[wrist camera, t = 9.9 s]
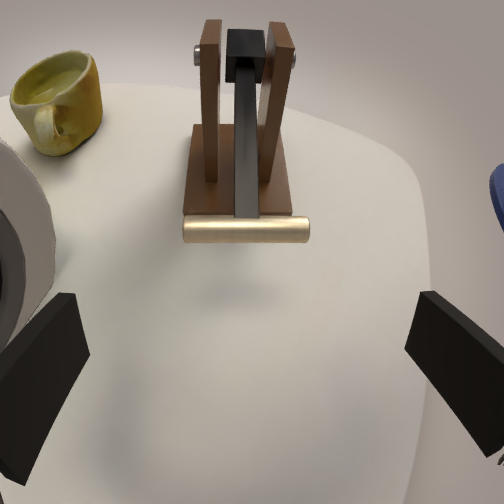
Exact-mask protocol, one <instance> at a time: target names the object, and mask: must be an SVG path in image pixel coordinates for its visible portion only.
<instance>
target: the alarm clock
mask: <svg viewBox="0 0 504 504" xmlns="http://www.w3.org/2000/svg"><path fill="white" fill-rule="evenodd" d="M55 248H56V237H55V232H54V227H53V221H52V215H51V209H50V205H49V203H48V201H47V199H46V197H45V195H44V192H43V190H42V188H41V186H40V183H39V181H38V179H37V176H36V175H35V174H34V172H33V171H32V170H31V169H30V168H29V167H28V166H27V165H26V163H25V162H24V161H23V160H22V159H21V158H20V156H19V155H18V154H17V153H16V152H15V151H14V149H13V148H12V147H11V146H9V145H8V144H7V143H6V142H4V141H3V140H2V139H1V138H0V353H1V352H2V351H3V350H4V349H5V347H6V346H7V345H8V344H9V343H10V342H11V341H12V340H13V339H14V338H15V336H16V335H17V334H18V333H19V332H20V331H21V330H22V328H23V327H24V325H25V324H26V322H27V321H28V319H29V318H30V316H31V315H32V313H33V312H34V311H35V309H36V308H37V306H38V305H39V303H40V302H41V301H42V299H43V298H44V296H45V295H46V294H47V292H48V291H49V290H50V288H51V286H52V282H53V278H54V273H55Z"/></svg>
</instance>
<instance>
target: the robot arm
mask: <svg viewBox="0 0 504 504" xmlns="http://www.w3.org/2000/svg"><path fill="white" fill-rule="evenodd" d="M404 349H405V351H406V352H407V353H408V354H409V355H410V357H411V358H412V359H413V360H414V362H415V363H416V364H417V365H418V367H419V368H420V369H421V370H422V372H423V373H424V374H425V375H426V377H427V378H428V379H429V380H430V382H431V383H432V384H433V386H434V387H435V388H436V389H437V391H438V392H439V393H440V395H441V396H442V397H443V399H444V400H445V401H446V402H447V404H448V405H449V407H450V408H451V409H452V410H453V412H454V413H455V415H456V416H457V417H458V419H459V420H460V421H461V423H462V424H463V426H464V427H465V428H466V430H467V431H468V432H469V434H470V435H471V437H472V438H473V439H474V441H475V442H476V444H477V445H478V446H479V448H480V449H481V450H482V452H483V453H484V455H485V456H486V458H487V457H489V456H491V455H492V454H494V453H496V452H497V451H499V450H500V449H501V448H502V447H503V446H504V348H503V346H501V345H500V344H499V343H498V342H497V341H496V340H494V339H493V338H492V337H491V336H489V334H487V333H486V332H485V331H484V330H483V329H482V328H480V327H479V326H478V325H477V324H476V323H474V322H473V321H472V320H471V319H469V318H468V317H467V316H466V315H465V314H463V313H462V312H461V311H459V310H458V309H457V308H456V307H455V306H453V305H452V304H451V303H449V302H448V301H447V300H446V299H444V298H443V297H442V296H440V295H439V294H438V293H437V292H435V291H423V292H420V295H419V299H418V303H417V307H416V311H415V314H414V318H413V322H412V325H411V329H410V332H409V335H408V339H407V342H406V345H405V348H404ZM89 356H90V352H89V349H88V345H87V342H86V338H85V334H84V330H83V326H82V322H81V318H80V314H79V309H78V305H77V300H76V295H75V294H74V293H58V294H57V295H56V296H55V297H54V298H53V299H52V300H50V301H49V302H48V303H47V304H46V305H45V306H44V307H43V308H42V309H41V310H40V311H39V312H38V313H37V314H36V315H35V317H34V318H33V319H32V320H31V321H30V322H29V323H28V324H27V325H26V326H25V327H24V328H23V329H22V330H21V331H20V332H19V333H18V334H17V335H16V336H15V338H14V339H13V340H12V341H11V342H10V343H9V344H8V345H7V346H6V347H5V349H4V350H3V351H2V352H1V353H0V472H1V473H2V474H3V476H4V477H5V478H7V479H9V480H12V481H14V482H16V483H18V484H20V485H23V486H25V485H26V482H27V480H28V478H29V475H30V473H31V471H32V468H33V466H34V464H35V461H36V459H37V457H38V455H39V453H40V450H41V448H42V446H43V444H44V442H45V440H46V438H47V436H48V433H49V431H50V429H51V427H52V425H53V423H54V421H55V419H56V417H57V415H58V413H59V411H60V409H61V407H62V405H63V404H64V402H65V400H66V398H67V396H68V394H69V392H70V390H71V388H72V387H73V385H74V383H75V381H76V379H77V377H78V376H79V374H80V372H81V370H82V369H83V367H84V365H85V363H86V361H87V360H88V358H89ZM503 461H504V454H503V455H502V457H501V458H500V459H499V461H498V465H500V464H501V463H502V462H503ZM0 504H4V502H3V499H2V496H1V492H0Z"/></svg>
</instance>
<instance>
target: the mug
mask: <svg viewBox="0 0 504 504" xmlns="http://www.w3.org/2000/svg"><path fill="white" fill-rule="evenodd" d="M10 106H11V109H12V111H13V112H14V114H15V116H16V118H17V119H18V120H19V122H20V123H21V125H22V126H23V128H24V129H25V130H26V132H27V133H28V135H29V137H30V139H31V141H32V143H33V145H34V147H35V148H36V149H37V150H38V151H39V152H41V153H42V154H45V155H49V156H60V155H64V154H66V153H69V152H70V151H72V150H73V149H75V148H76V147H77V146H78V145H79V144H80V143H81V142H82V141H83V140H85V139H87V138H88V137H90V136H91V135H92V134H93V133H94V132H95V131H96V130H97V129H98V127H99V126H100V123H101V120H102V114H103V110H102V100H101V92H100V84H99V77H98V71H97V67H96V64H95V61H94V59H93V58H92V56H91V55H90V54H88V53H83V52H81V51H76V50H70V51H66V52H62V53H59V54H55V55H53V56H51V57H48V58H46V59H44V60H42V61H41V62H39V63H37V64H35V65H34V66H33V67H31V68H30V69H29V70H28V71H26V73H25V74H23V75H22V76H21V77H20V78H19V80H18V81H17V82H16V84H15V86H14V87H13V89H12V91H11V94H10Z"/></svg>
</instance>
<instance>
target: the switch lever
mask: <svg viewBox="0 0 504 504" xmlns="http://www.w3.org/2000/svg"><path fill="white" fill-rule="evenodd" d="M265 60H266V51H265V38H264V31H263V30H250V29H228V31H227V49H226V74H225V82H226V83H235V93H234V215H186V216H184V218H183V240H184V242H186V243H306V242H307V241H308V239H309V235H310V223H309V219H308V217H306V216H260V212H259V175H258V141H257V110H256V83H258V84H261V83H262V77H263V71H264V66H265Z"/></svg>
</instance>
